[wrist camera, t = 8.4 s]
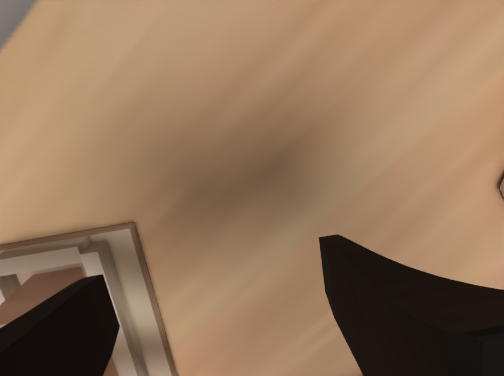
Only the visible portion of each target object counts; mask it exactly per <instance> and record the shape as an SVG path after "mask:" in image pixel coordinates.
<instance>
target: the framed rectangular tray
mask: <svg viewBox="0 0 504 376" xmlns="http://www.w3.org/2000/svg"><path fill="white" fill-rule="evenodd" d="M75 267H81V268H82V271H83V274H84V277H89V276H95V275H101V274H103V276H104V279H105V282H106V285H107V288H108V291H109V294H110V297H111V300H112V303H113V307H114V310H115V313H116V316H117V319H118V322H119V325H120V328H119V332H118V335H117V339H116V343H115V346H114V350H113V353H112V358H113V361H114V364H115V367H116V370H117V373H118V376H177V373H176V369H175V366H174V362H173V359H172V355H171V352H170V348H169V344H168V341H167V337H166V334H165V330H164V327H163V323H162V320H161V316H160V313H159V309H158V305H157V302H156V298H155V295H154V291H153V288H152V284H151V281H150V277H149V273H148V270H147V266H146V263H145V259H144V256H143V252H142V249H141V245H140V241H139V238H138V234H137V231H136V227H135V224H134V222H133V223H127V224H121V225H115V226H109V227H103V228H98V229H92V230H86V231H80V232H74V233H68V234H62V235H56V236H50V237H45V238H39V239H33V240H27V241H21V242H15V243H9V244H3V245H0V305H1V304H2V303H3V302H4V301H5V300H6V299H7V298H8V297H9V296H10V295H11V294H12V293H14V292H15V291H16V290H17V289H18V288H19V287H20V286H21V285H22V284H23V283H24V282H25V281H27V280H28V279H29V278H30V277H31V276H32V275H34V274H40V273H45V272H51V271H57V270H63V269H69V268H75Z"/></svg>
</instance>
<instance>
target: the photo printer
mask: <svg viewBox="0 0 504 376" xmlns="http://www.w3.org/2000/svg"><path fill="white" fill-rule="evenodd" d="M500 191H502V195H503V197H504V179H503V181H502V183H501V185H500Z"/></svg>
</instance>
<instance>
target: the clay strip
mask: <svg viewBox="0 0 504 376" xmlns="http://www.w3.org/2000/svg"><path fill="white" fill-rule="evenodd" d="M82 278H84V274H83V271H82V268H81V267H75V268H69V269H63V270H57V271H51V272H45V273H40V274H34V275H32V276H31V277H30V278H29V279H28V280H27V281H25V282H24V283H23V284H22V285H21V286H20V287H19V288H18V289H17V290H16V291H15V292H14V293H12V294H11V295H10V296H9V297H8V298H7V299H6V300H5V301H4V302H3V303H2V304H1V305H0V328H1V327H3V326H5V325H6V324H8V323H10V322H11V321H13V320H14V319H16V318H18V317H19V316H21V315H23V314H24V313H26V312H28V311H29V310H31V309H32V308H34V307H35V306H37V305H39V304H40V303H42V302H43V301H45V300H46V299H48V298H50V297H51V296H53V295H54V294H56V293H57V292H59V291H61V290H62V289H64V288H66V287H67V286H69V285H71V284H72V283H74V282H76V281H78V280H80V279H82ZM103 376H118V373H117V370H116V367H115V364H114V361H113V358H112V356H111V358H110V361H109V363H108V365H107V368H106V370H105V372H104V375H103Z"/></svg>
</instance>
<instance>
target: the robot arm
mask: <svg viewBox="0 0 504 376" xmlns="http://www.w3.org/2000/svg"><path fill="white" fill-rule="evenodd" d="M319 242H320V250H321V259H322V268H323V276H324V285H325V292H326V295H327V298H328V301H329V304H330V307H331V309H332V312H333V315H334V318H335V320H336V322H337V324H338V326H339V328H340V330H341V332H342V334H343V336H344V338H345V340H346V342H347V344H348V346H349V348H350V350H351V352H352V354H353V356H354V358H355V360H356V362H357V364H358V366H359V368H360V370H361V371H362V373H363V375H364V376H504V290H501V289H494V288H488V287H483V286H477V285H473V284H468V283H464V282H459V281H455V280H450V279H447V278H443V277H439V276H436V275H432V274H429V273H426V272H423V271H420V270H416V269H414V268H411V267H408V266H405V265H403V264H400V263H398V262H395V261H393V260H390V259H388V258H386V257H384V256H381V255H379V254H377V253H375V252H373V251H371V250H369V249H367V248H364V247H362V246H360V245H359V244H357V243H355V242H353V241H351V240H349V239H347V238H345V237H343V236H340V235H338V234H337V235H331V236H325V237H319ZM119 328H120V325H119V322H118V319H117V316H116V313H115V310H114V307H113V303H112V300H111V297H110V294H109V291H108V288H107V285H106V282H105V279H104V276H103V274H101V275H95V276H89V277H84V278H82V279H80V280H78V281H76V282H74V283H72V284H71V285H69V286H67V287H66V288H64V289H62V290H61V291H59V292H57V293H56V294H54V295H53V296H51V297H50V298H48V299H46V300H45V301H43V302H42V303H40V304H39V305H37V306H35V307H34V308H32V309H31V310H29V311H28V312H26V313H24V314H23V315H21V316H19V317H18V318H16V319H14V320H13V321H11V322H10V323H8V324H6V325H5V326H3V327H1V328H0V376H103V375H104V372H105V370H106V368H107V365H108V363H109V361H110V358H111V356H112V353H113V350H114V346H115V343H116V339H117V335H118V332H119Z"/></svg>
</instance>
